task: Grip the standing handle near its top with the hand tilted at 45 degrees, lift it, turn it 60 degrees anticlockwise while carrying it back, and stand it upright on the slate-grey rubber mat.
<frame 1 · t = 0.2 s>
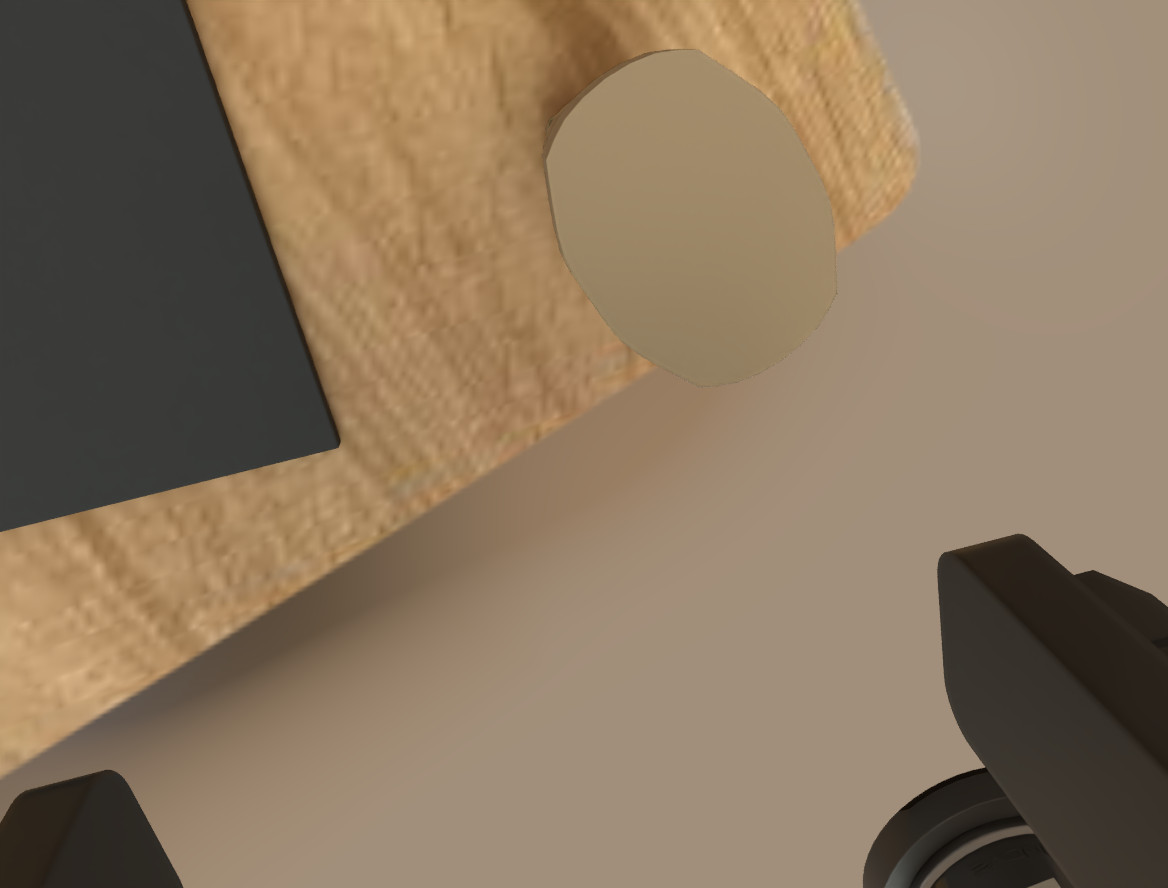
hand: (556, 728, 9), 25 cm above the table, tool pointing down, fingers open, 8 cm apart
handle: (589, 145, 32), on the table
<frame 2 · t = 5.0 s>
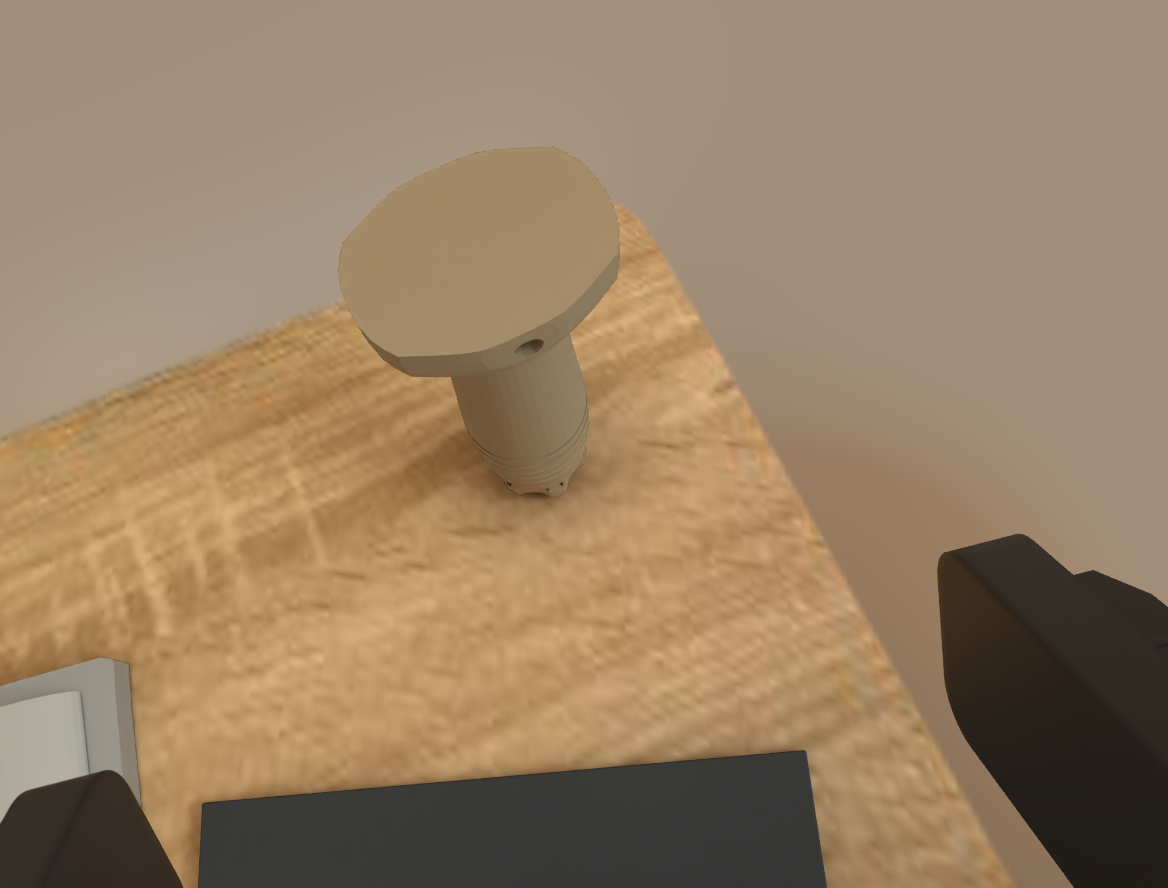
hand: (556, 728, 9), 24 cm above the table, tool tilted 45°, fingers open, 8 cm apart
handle: (542, 462, 36), on the table
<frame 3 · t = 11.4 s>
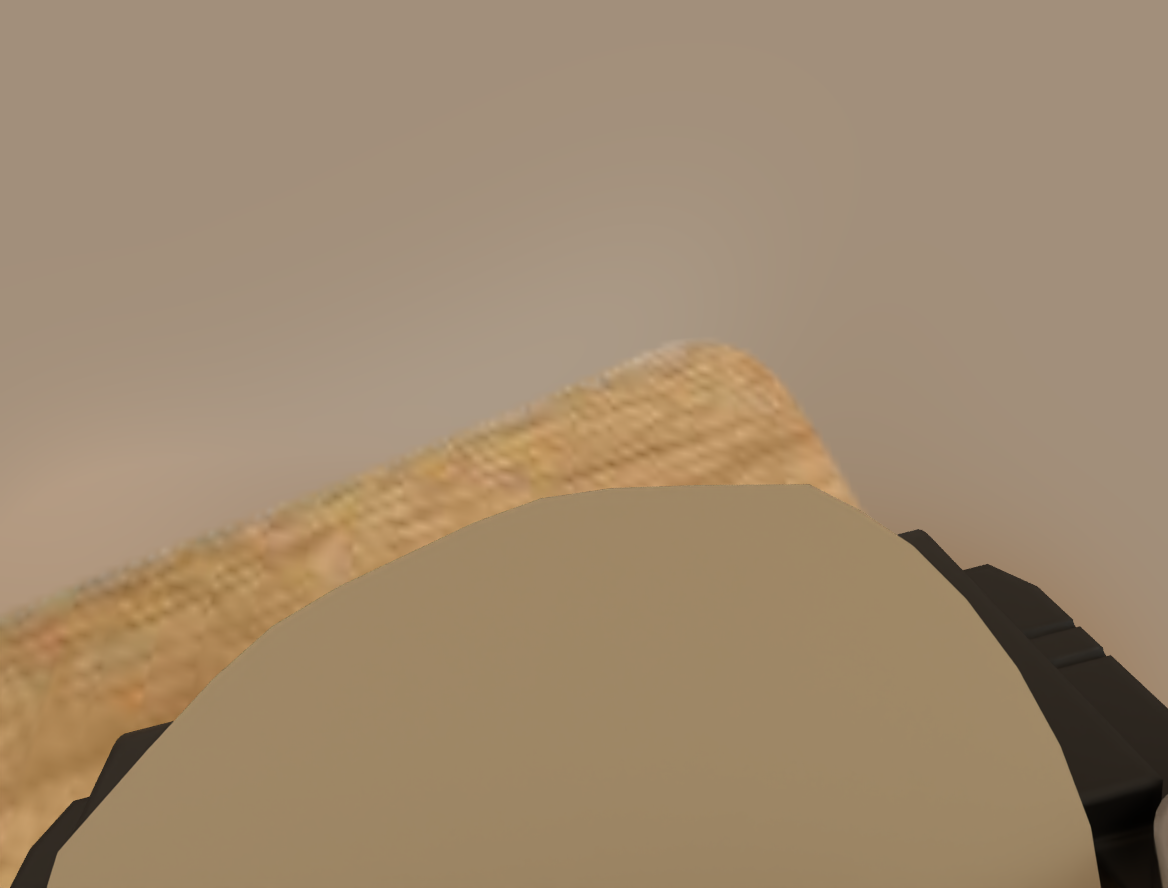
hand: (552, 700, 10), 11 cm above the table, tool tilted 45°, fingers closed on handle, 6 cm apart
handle: (618, 835, 20), on the table, touching gripper
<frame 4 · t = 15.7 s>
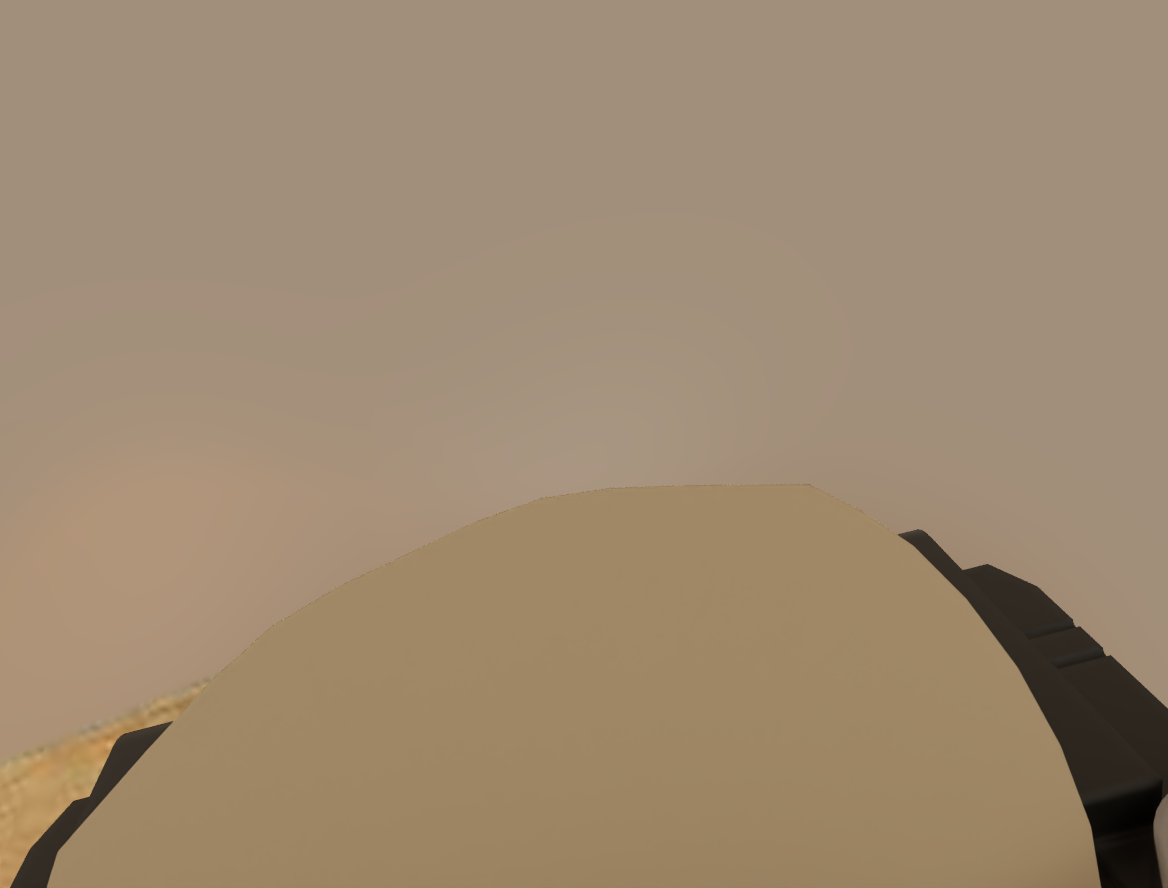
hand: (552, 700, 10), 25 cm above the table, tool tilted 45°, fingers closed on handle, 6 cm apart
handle: (618, 835, 20), point 14 cm above the table, touching gripper
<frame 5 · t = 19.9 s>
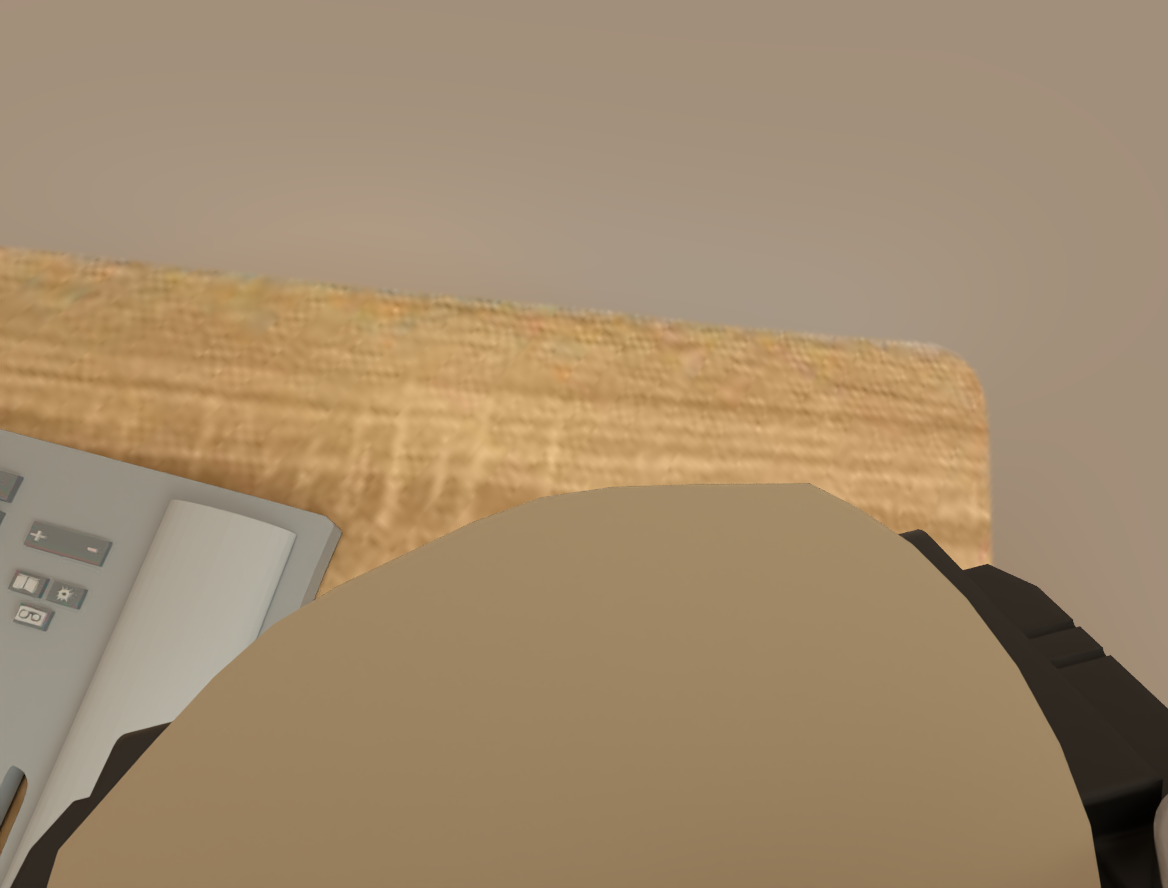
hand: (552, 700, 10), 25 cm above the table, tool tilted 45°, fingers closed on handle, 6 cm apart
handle: (618, 834, 20), point 14 cm above the table, touching gripper
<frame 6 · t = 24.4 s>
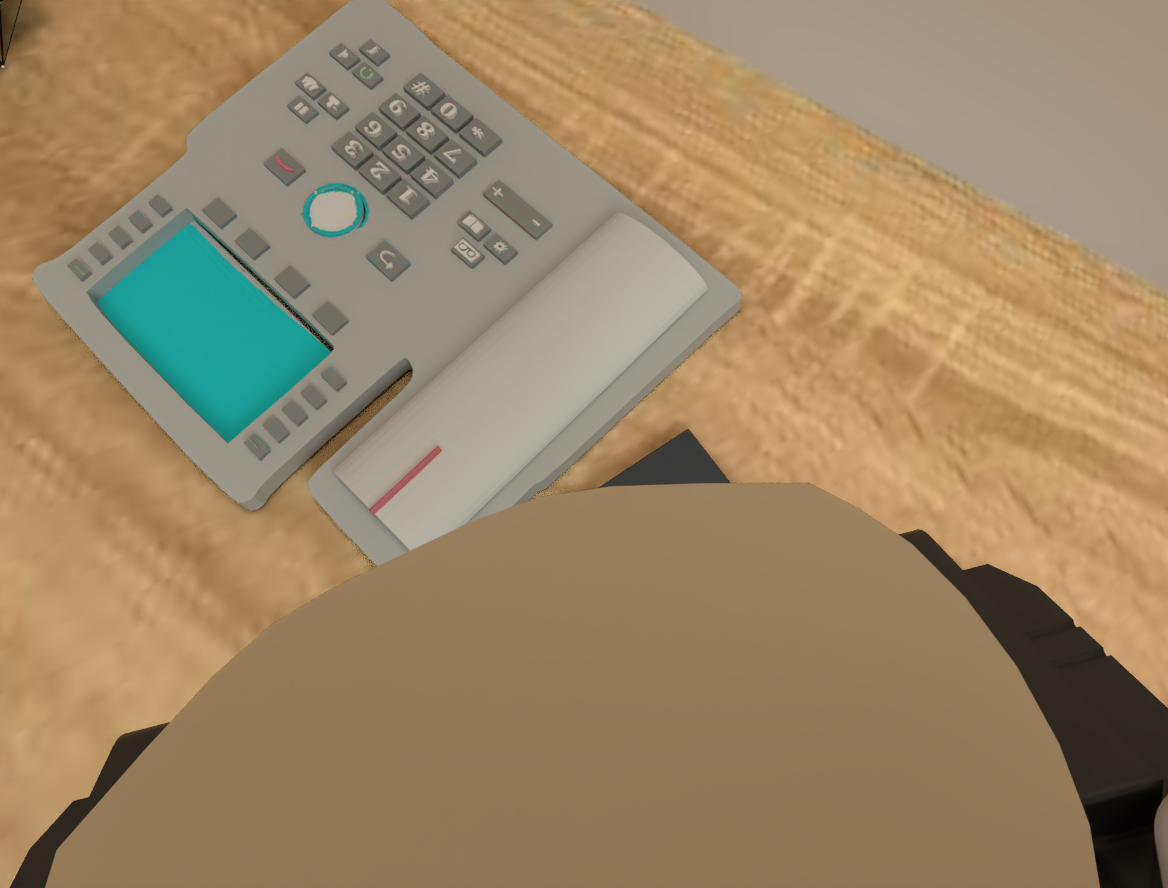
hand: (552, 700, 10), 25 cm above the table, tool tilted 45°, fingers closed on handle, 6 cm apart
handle: (617, 834, 20), point 13 cm above the table, touching gripper
office telephone: (379, 293, 40), on the table
mat: (622, 816, 32), on the table
when the fingers open (12 cm above the table, at t = 28.5 s): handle stays where it is, resting on mat.
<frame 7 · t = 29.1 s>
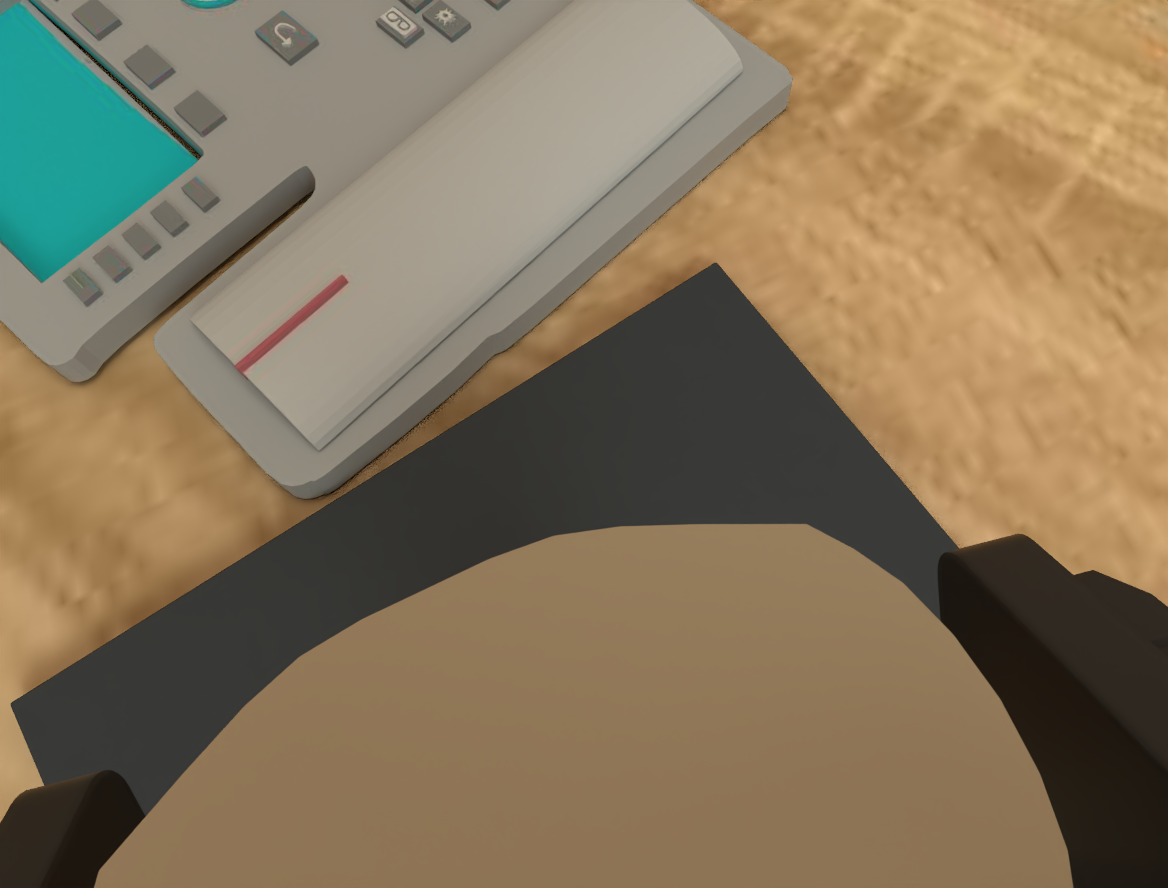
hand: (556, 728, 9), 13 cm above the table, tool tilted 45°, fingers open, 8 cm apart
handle: (617, 842, 20), resting on mat
office telephone: (278, 94, 29), on the table
mat: (617, 834, 21), on the table
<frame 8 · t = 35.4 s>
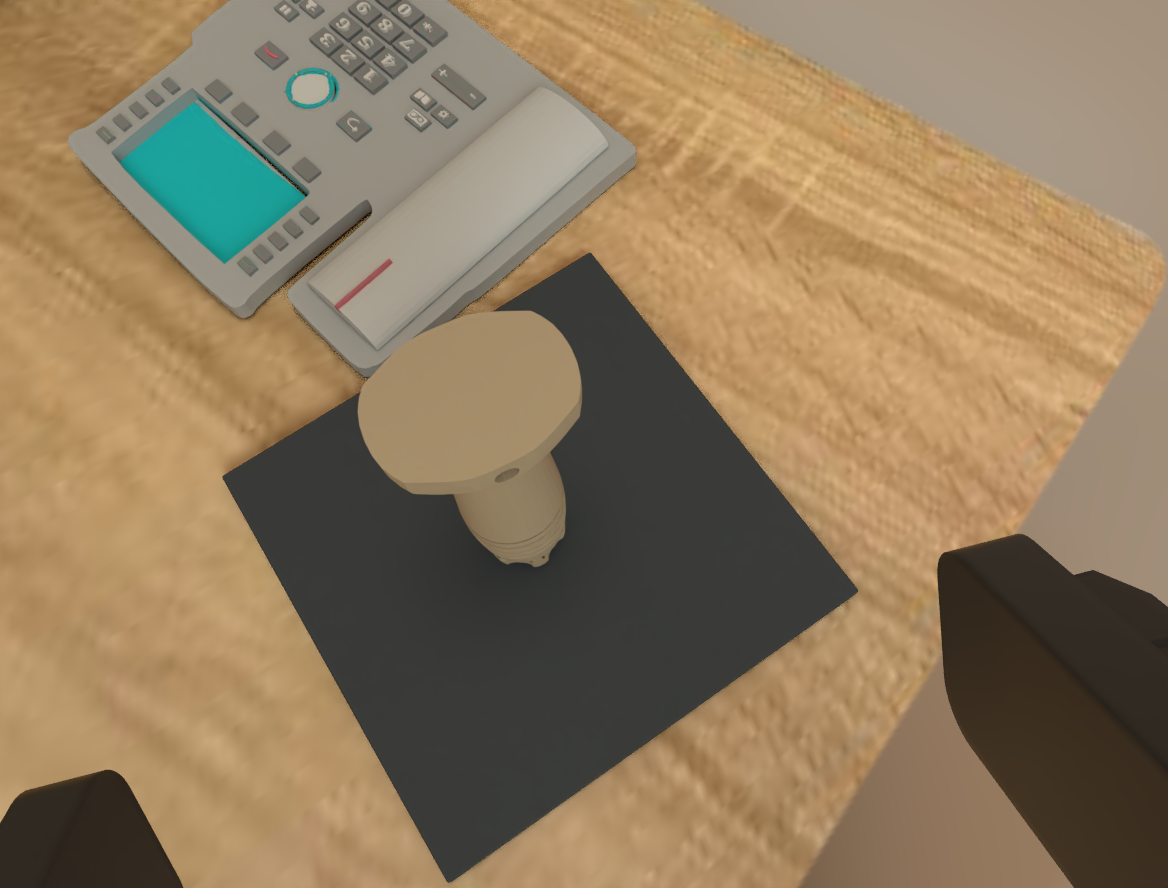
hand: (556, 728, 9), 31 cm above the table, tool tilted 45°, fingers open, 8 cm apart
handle: (527, 535, 41), resting on mat
office telephone: (347, 156, 50), on the table
mat: (528, 534, 42), on the table
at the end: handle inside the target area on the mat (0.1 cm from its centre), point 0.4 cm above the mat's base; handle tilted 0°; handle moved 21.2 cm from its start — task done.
